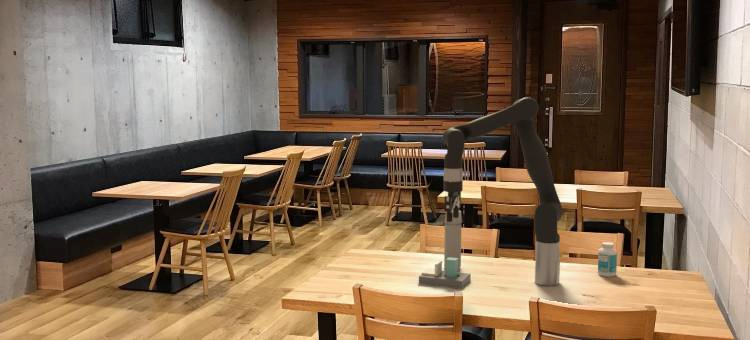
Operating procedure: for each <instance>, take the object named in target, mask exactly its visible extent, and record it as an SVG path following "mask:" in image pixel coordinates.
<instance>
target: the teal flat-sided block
mask: <svg viewBox="0 0 750 340" xmlns="http://www.w3.org/2000/svg"><path fill="white" fill-rule="evenodd" d="M445 271H446V277H449V278H458V272H459V269H458V258H453V257H448V258H447V259H446V268H445Z"/></svg>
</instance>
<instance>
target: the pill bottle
mask: <svg viewBox="0 0 750 340" xmlns="http://www.w3.org/2000/svg"><path fill="white" fill-rule="evenodd" d="M601 246H602V247H601V248H599V249H598V253H597V256H598V257H597V273H598V275H599V276H601V277H605V278H606V277H607V278H608V277H610V278H611V277H615V276H616V275H617V262H618V261H617V259H618V251H617V250H616V248H614V247H615V245H614V243H613V242H607V241H606V242H605V241H604V242H601Z"/></svg>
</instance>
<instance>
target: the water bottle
mask: <svg viewBox="0 0 750 340" xmlns="http://www.w3.org/2000/svg"><path fill="white" fill-rule="evenodd" d="M444 216H445V218H444V221H443V223H444V252H443V253H444V254H443V255H444V256H443V257H444V259H443V261H444V263H443V264H444V265H443V267H444V268H445V269H446V259H447V258H448V257H453V258H458V270H460V269H461V266H462V264H461V263H462V223H463V215H462V211H461V210H460V209H459V217H458V218H454V217H453V218H452V222H447V212H446V211H445V215H444Z"/></svg>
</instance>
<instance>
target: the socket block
mask: <svg viewBox="0 0 750 340" xmlns="http://www.w3.org/2000/svg"><path fill="white" fill-rule="evenodd" d="M470 282H471V273H468V272H459V271H458V278H449V277H446V270H442V273H440V274H439V275H438V276H429V275H422V273H421V274H419V276H418V284H419V285H428V286H437V287H446V288H451V289H452V288H453V289H460V290H461V289H463V288H465V287H466V285H467V284H468V283H470Z"/></svg>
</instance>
